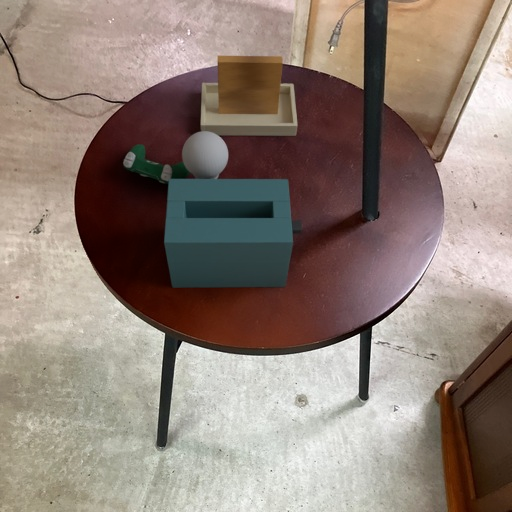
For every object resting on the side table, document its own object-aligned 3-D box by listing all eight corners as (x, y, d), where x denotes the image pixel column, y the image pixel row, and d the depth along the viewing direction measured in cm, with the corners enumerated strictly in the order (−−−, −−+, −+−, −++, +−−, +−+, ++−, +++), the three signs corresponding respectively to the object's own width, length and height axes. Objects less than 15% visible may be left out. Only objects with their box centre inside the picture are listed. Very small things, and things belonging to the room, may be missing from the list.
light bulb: (236, 195, 76) (237, 144, 68) (198, 213, 74) (194, 162, 66) (215, 167, 79) (213, 115, 70) (178, 184, 77) (171, 131, 68)
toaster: (172, 287, 68) (164, 242, 59) (175, 228, 73) (168, 178, 64) (298, 287, 69) (307, 242, 60) (293, 228, 73) (301, 179, 65)
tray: (201, 135, 82) (200, 125, 80) (202, 93, 87) (202, 82, 85) (296, 136, 83) (297, 125, 81) (292, 94, 87) (293, 83, 86)
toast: (218, 114, 84) (217, 61, 76) (218, 107, 84) (217, 55, 76) (277, 114, 84) (282, 62, 76) (277, 108, 85) (282, 56, 77)
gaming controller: (133, 168, 80) (113, 169, 74) (139, 142, 79) (119, 142, 74) (190, 188, 79) (174, 190, 73) (197, 162, 78) (181, 163, 72)
